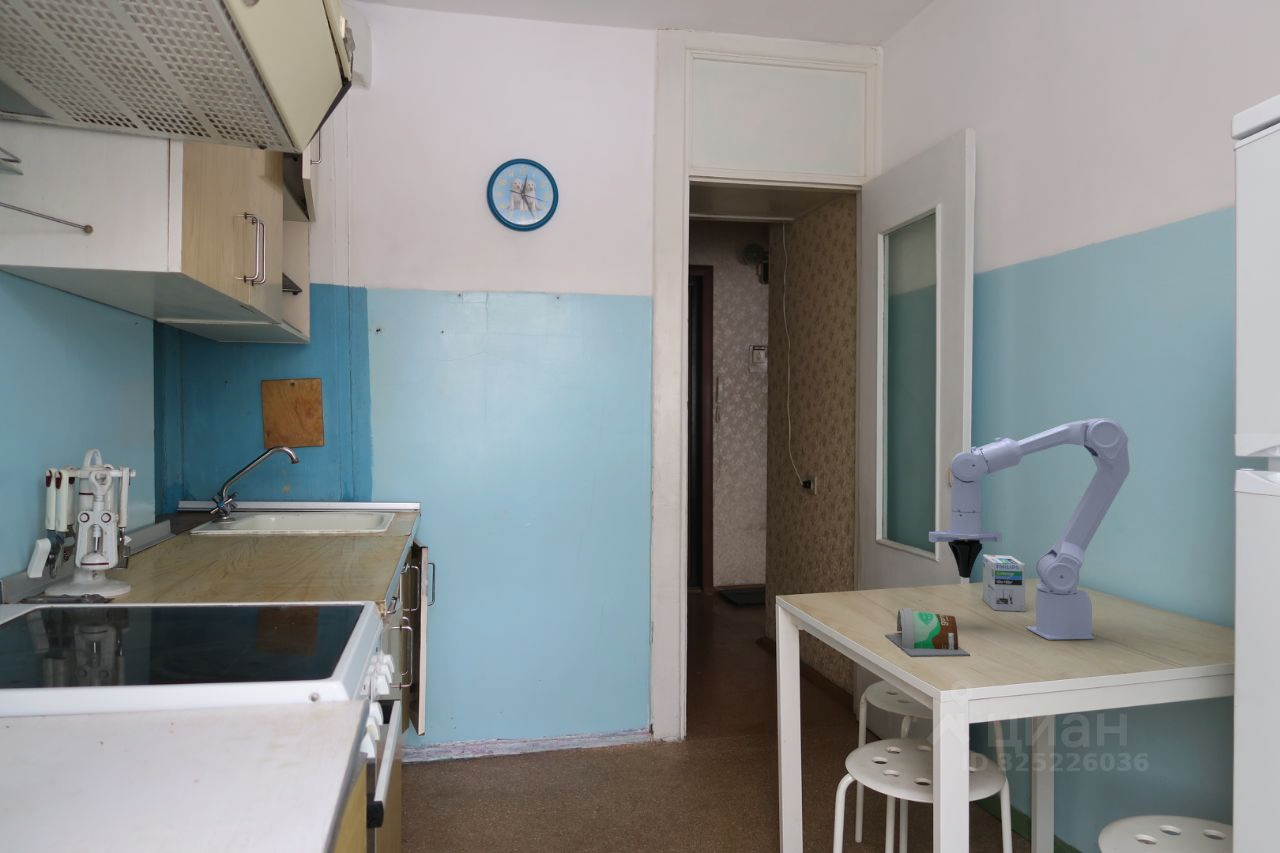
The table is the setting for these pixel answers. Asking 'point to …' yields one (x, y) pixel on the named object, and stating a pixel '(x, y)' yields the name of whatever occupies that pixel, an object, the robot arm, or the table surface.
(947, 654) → the mat
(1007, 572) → the light bulb box
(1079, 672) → the table surface
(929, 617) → the food container
